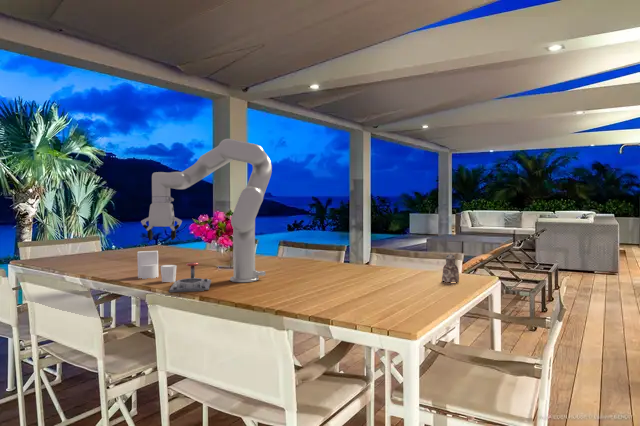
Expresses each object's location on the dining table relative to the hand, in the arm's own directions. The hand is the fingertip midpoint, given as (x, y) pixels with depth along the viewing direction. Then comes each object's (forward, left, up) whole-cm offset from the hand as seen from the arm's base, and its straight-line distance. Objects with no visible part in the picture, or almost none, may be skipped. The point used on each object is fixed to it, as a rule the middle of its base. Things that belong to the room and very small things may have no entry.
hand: (161, 239), depth 196 cm
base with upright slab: (+8, -14, -19) cm, 25 cm away
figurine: (-124, +25, -19) cm, 127 cm away
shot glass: (-3, -1, -19) cm, 19 cm away
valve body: (-14, +13, -19) cm, 27 cm away
